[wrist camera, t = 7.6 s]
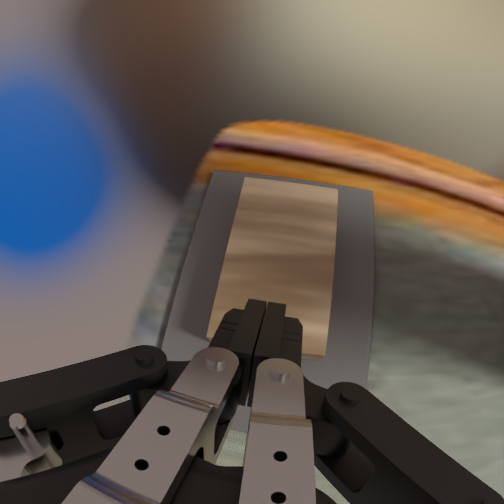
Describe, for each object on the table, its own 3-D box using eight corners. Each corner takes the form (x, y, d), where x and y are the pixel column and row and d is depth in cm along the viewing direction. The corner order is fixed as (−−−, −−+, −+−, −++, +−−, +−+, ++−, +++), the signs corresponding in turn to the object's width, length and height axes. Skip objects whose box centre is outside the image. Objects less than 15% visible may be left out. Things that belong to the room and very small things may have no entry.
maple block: (324, 355, 17) (338, 189, 22) (206, 336, 18) (244, 176, 23) (318, 360, 19) (332, 208, 24) (213, 344, 20) (246, 196, 25)
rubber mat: (355, 443, 17) (357, 444, 16) (150, 408, 18) (147, 408, 18) (371, 194, 25) (372, 190, 25) (214, 173, 27) (213, 170, 27)
